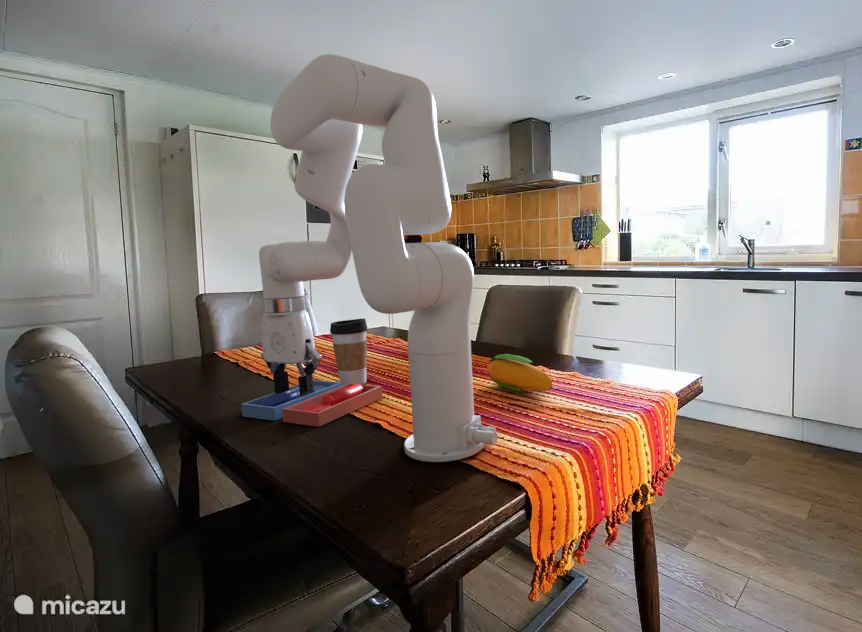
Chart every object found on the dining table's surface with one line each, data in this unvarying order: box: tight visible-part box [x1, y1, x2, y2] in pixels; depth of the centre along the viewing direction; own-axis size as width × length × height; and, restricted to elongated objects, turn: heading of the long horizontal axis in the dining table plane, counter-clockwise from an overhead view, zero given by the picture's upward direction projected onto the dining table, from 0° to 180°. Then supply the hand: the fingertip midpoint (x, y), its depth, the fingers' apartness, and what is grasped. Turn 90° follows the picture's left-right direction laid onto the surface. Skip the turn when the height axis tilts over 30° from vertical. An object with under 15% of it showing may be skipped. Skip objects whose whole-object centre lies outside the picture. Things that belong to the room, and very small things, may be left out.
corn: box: [487, 353, 553, 394], centre depth 108 cm, size 7×8×20 cm
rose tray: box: [282, 383, 383, 427], centre depth 101 cm, size 9×18×2 cm, turn 157°
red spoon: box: [301, 384, 363, 412], centre depth 101 cm, size 16×5×3 cm, turn 157°
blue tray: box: [240, 379, 342, 422], centre depth 105 cm, size 9×18×2 cm, turn 157°
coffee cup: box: [329, 318, 369, 386], centre depth 119 cm, size 8×8×15 cm
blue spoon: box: [261, 385, 326, 407], centre depth 105 cm, size 16×5×3 cm, turn 157°
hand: (294, 392), depth 105 cm, fingers open, 6 cm apart
